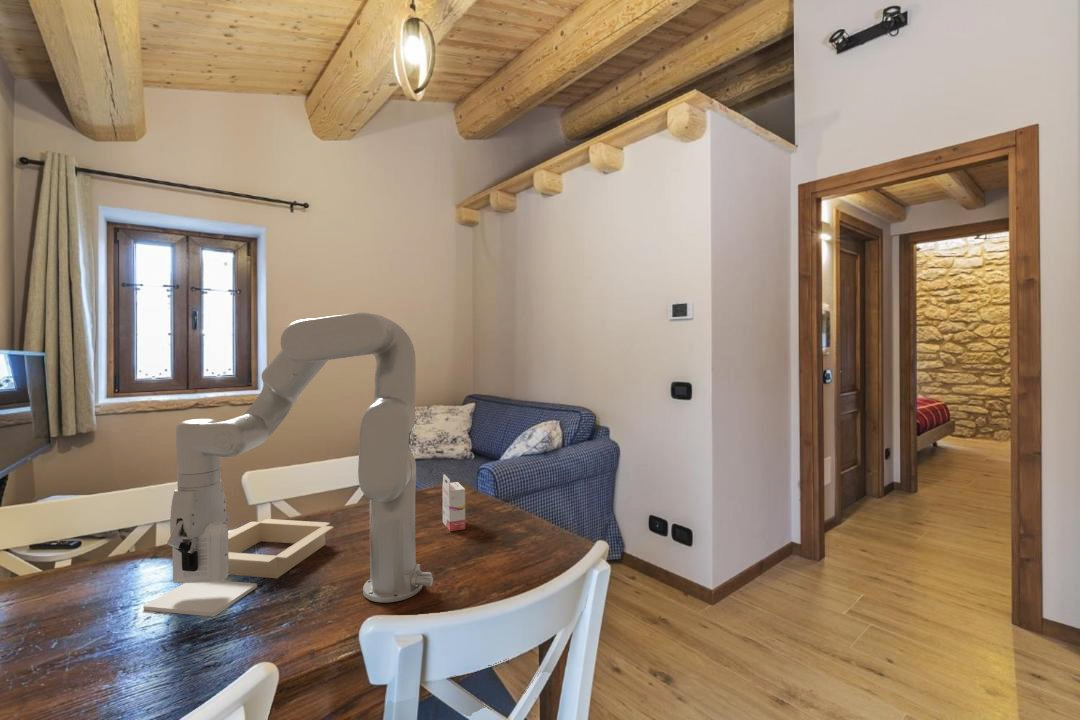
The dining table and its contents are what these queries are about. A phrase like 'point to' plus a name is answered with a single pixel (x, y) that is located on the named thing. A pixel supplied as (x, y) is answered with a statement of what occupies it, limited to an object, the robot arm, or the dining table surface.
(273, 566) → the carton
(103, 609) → the dining table surface
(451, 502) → the ink cartridge box
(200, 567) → the photo printer
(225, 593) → the mat
